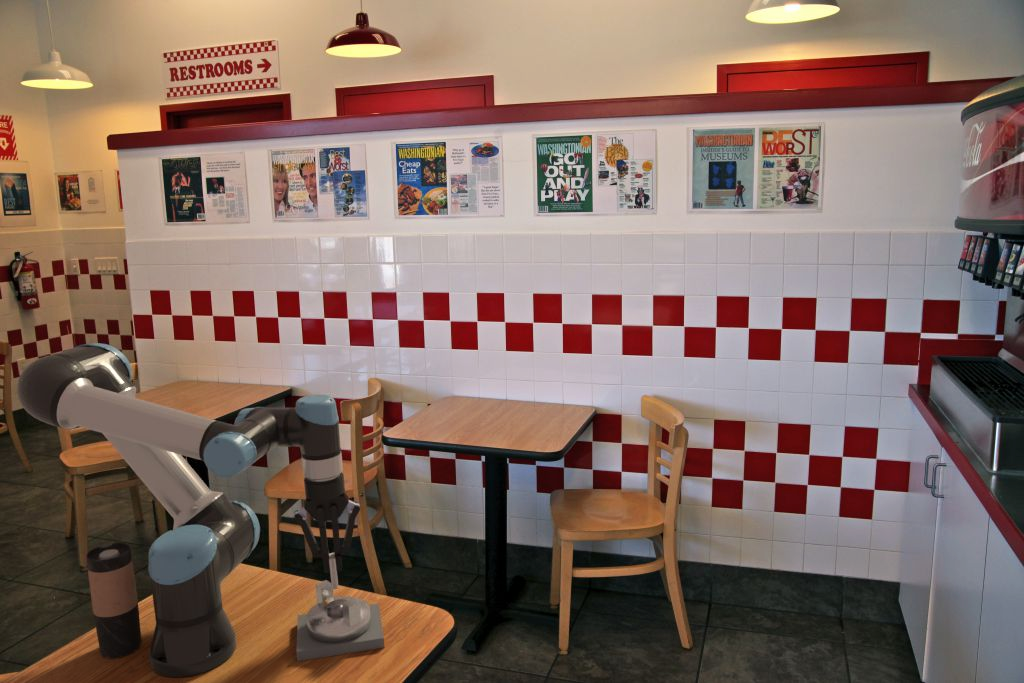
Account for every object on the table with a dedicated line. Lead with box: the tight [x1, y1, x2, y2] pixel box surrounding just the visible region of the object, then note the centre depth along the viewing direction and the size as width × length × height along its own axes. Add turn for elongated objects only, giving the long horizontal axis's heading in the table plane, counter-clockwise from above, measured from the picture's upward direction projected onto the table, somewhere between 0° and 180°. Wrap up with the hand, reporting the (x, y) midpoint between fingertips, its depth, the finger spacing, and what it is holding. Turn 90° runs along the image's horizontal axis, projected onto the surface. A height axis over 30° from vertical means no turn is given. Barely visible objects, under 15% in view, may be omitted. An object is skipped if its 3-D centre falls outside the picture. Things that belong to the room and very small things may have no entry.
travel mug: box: [86, 542, 142, 659], centre depth 149 cm, size 8×8×20 cm
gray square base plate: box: [295, 603, 385, 662], centre depth 153 cm, size 16×13×3 cm
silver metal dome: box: [306, 579, 371, 642], centre depth 153 cm, size 12×12×7 cm
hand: (334, 585), depth 157 cm, fingers closed
